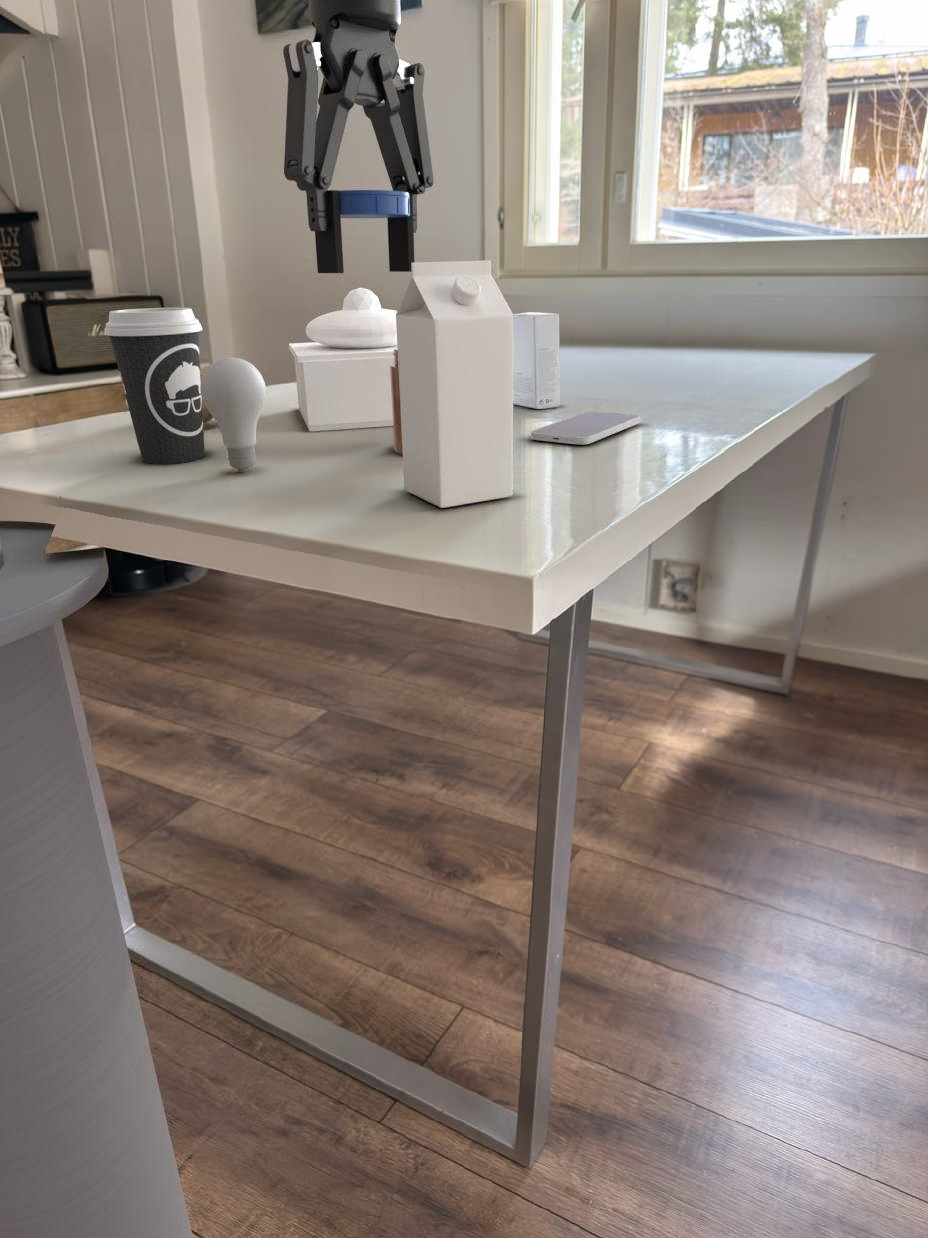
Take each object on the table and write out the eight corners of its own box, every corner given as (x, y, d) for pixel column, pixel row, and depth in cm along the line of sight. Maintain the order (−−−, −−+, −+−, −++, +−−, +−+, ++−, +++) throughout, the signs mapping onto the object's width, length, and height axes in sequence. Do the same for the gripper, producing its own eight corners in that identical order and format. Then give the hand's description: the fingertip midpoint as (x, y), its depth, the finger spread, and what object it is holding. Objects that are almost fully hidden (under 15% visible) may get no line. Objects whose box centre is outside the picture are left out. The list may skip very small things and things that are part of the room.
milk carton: (404, 492, 77) (392, 262, 70) (473, 481, 80) (469, 260, 73) (440, 510, 71) (432, 262, 64) (513, 497, 74) (513, 259, 67)
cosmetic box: (561, 406, 117) (563, 312, 113) (534, 410, 115) (535, 314, 111) (534, 401, 122) (535, 310, 118) (508, 404, 120) (508, 312, 115)
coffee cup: (217, 445, 98) (198, 305, 93) (221, 462, 90) (201, 310, 84) (128, 452, 96) (103, 309, 90) (125, 470, 87) (97, 314, 82)
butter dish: (448, 421, 109) (444, 287, 103) (304, 431, 105) (291, 292, 99) (421, 401, 124) (416, 283, 118) (295, 409, 121) (283, 287, 114)
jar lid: (427, 215, 76) (426, 191, 76) (348, 213, 72) (347, 188, 71) (379, 218, 82) (378, 197, 82) (304, 217, 78) (302, 194, 77)
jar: (428, 459, 89) (424, 353, 85) (379, 450, 94) (373, 349, 90) (478, 447, 94) (476, 346, 90) (429, 439, 99) (426, 342, 95)
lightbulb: (260, 479, 83) (246, 360, 78) (201, 478, 84) (184, 361, 79) (283, 465, 88) (272, 353, 84) (228, 464, 89) (213, 353, 85)
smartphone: (526, 432, 97) (588, 410, 108) (526, 440, 97) (588, 417, 108) (585, 438, 93) (643, 415, 104) (585, 446, 93) (643, 422, 104)
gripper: (275, -73, 61) (301, 274, 70) (473, -12, 75) (474, 270, 84) (216, -49, 66) (247, 273, 74) (413, 4, 80) (419, 270, 88)
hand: (367, 271), depth 79 cm, fingers closed on jar lid, 8 cm apart
